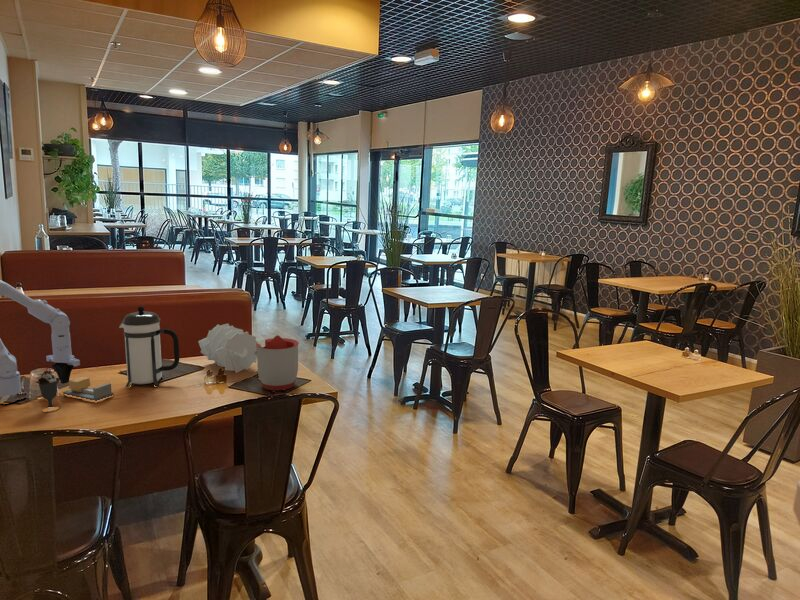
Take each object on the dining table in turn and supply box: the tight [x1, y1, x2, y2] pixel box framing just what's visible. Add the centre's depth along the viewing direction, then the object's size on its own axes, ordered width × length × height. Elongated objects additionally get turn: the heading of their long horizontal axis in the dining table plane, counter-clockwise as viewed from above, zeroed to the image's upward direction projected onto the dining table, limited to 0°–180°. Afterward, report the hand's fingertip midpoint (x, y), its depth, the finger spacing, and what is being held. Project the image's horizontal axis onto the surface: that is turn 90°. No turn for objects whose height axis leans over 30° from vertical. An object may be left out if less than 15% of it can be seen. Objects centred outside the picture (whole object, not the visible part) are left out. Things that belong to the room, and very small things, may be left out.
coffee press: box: [119, 305, 180, 388], centre depth 210 cm, size 17×16×30 cm
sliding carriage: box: [68, 376, 91, 392], centre depth 198 cm, size 4×5×4 cm
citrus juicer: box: [254, 334, 300, 391], centre depth 211 cm, size 16×17×20 cm
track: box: [62, 382, 115, 401], centre depth 197 cm, size 16×7×5 cm, turn 68°
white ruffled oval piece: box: [198, 323, 259, 374], centre depth 234 cm, size 18×18×25 cm
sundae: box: [35, 364, 60, 407], centre depth 184 cm, size 7×7×15 cm
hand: (64, 382), depth 201 cm, fingers closed
